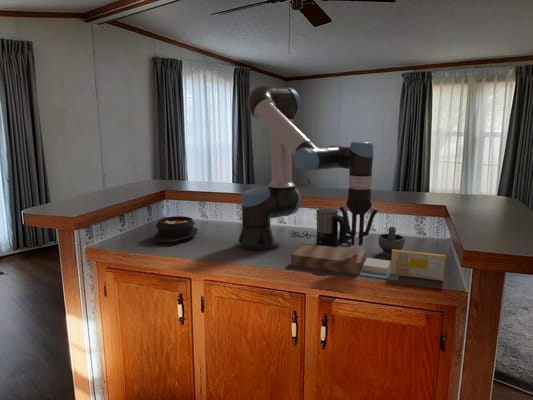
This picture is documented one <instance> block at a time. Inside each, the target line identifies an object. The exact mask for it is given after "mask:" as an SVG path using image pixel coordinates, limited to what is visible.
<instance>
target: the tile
mask: <svg viewBox="0 0 533 400" xmlns="http://www.w3.org/2000/svg"><path fill="white" fill-rule="evenodd" d="M390 262H391V260H388V259H386V260H385V259H381V258H380V259H379V258H373V257H372V258H371V257H366V258H365V263H364V264H363V268H362V269H363V271H369V272H376V273H383V274H388V271H389V268H390Z"/></svg>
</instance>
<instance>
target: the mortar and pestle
mask: <svg viewBox="0 0 533 400" xmlns="http://www.w3.org/2000/svg"><path fill="white" fill-rule="evenodd" d="M387 231H388V233H382V234H379V235H378V244H379V247H380V249H382V255H384V256H385V257H392V249H394V250H403V248H404V245H405V239H406V238H405V236H403V235H401V234H399V233H398V234H396V232H397V228H396V227H394V226H389V227H388V230H387Z"/></svg>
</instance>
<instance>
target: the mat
mask: <svg viewBox="0 0 533 400" xmlns="http://www.w3.org/2000/svg"><path fill="white" fill-rule="evenodd" d="M390 268H391V261H390ZM390 268H389V271H388V274H383V273H376V272H369V271H363V268H362V270H361V272H360V274H359V276H360V277H365V278H366V277H368V278H374V279H380V280H381V279H382V280H388V281H394V282H395V281H396V282H398V281H399V279H400V278H399V277H400V275H393V274H390Z"/></svg>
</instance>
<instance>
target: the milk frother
mask: <svg viewBox="0 0 533 400" xmlns="http://www.w3.org/2000/svg"><path fill="white" fill-rule="evenodd" d="M315 211H316V240H315V241H316V242H315V245H320V246H329V247H338V246H339V244H345V243H346V242H347V241H351V235H350V234H347V233H346V229H345V224H344V219H343V215H340V214H339V213H340V212H339V210H338V209H336V208H335V209H334V208H319V209H316V210H315ZM338 229H339V230H338ZM338 236H339V237H338Z"/></svg>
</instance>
